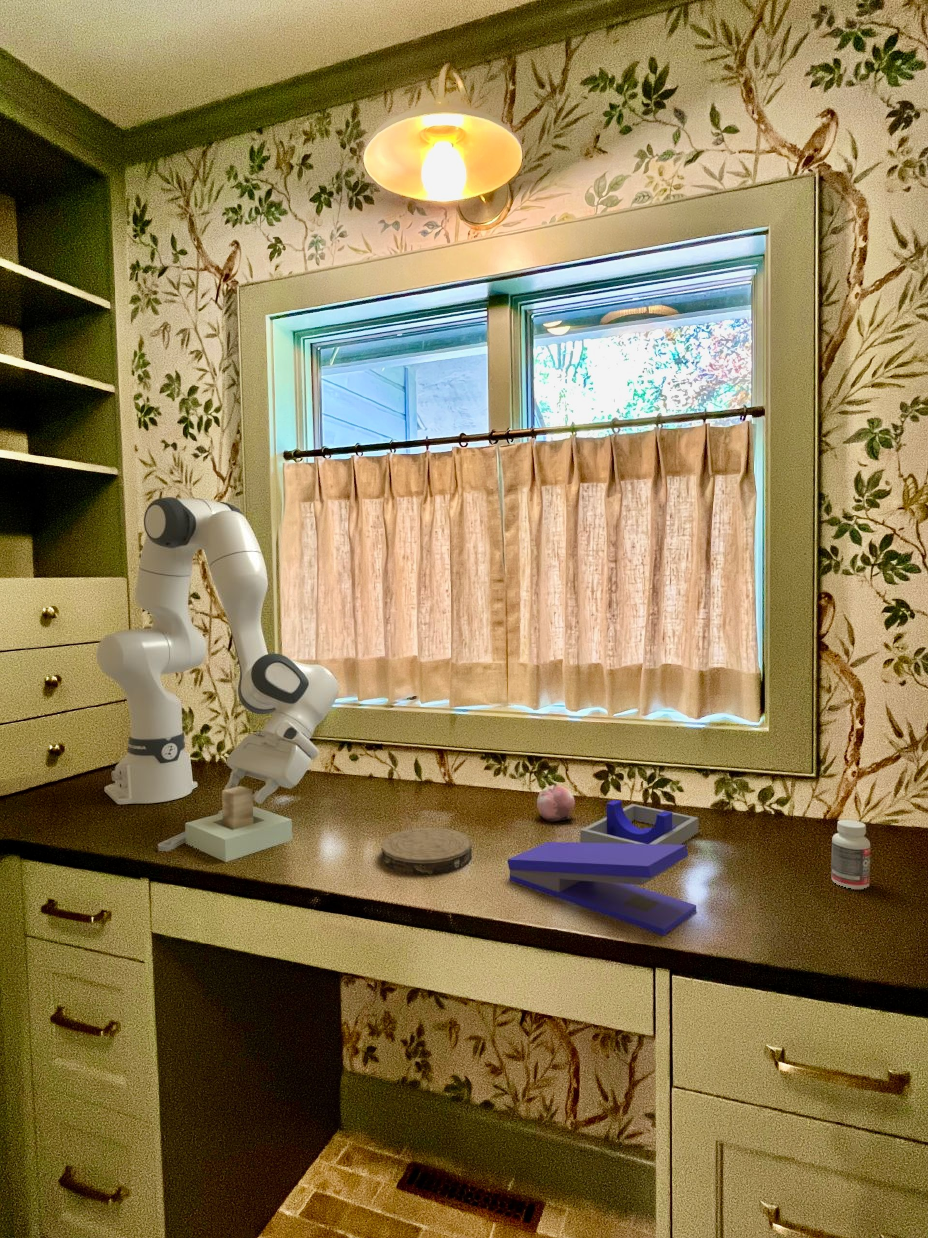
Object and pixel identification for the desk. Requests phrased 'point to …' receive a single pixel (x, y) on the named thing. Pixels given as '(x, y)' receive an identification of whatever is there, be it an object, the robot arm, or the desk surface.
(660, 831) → the blue cradle holder
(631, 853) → the stapler
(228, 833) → the pale green square frame
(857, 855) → the pill bottle
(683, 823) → the clip corral
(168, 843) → the adjustable wrench
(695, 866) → the desk surface
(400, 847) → the wood slice
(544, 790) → the onion
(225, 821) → the wooden block
